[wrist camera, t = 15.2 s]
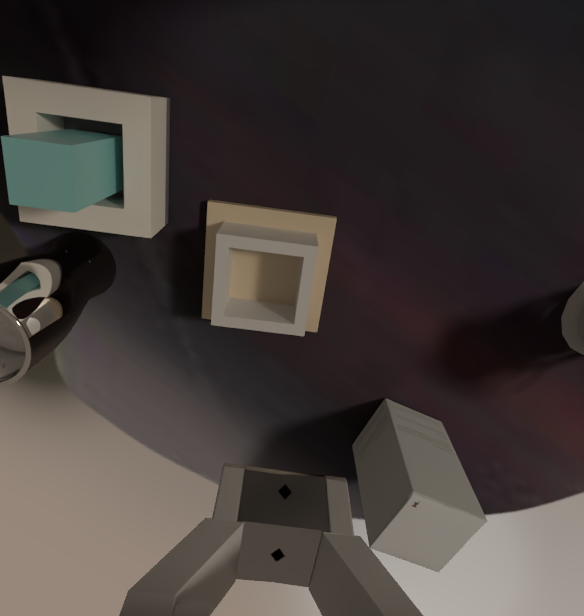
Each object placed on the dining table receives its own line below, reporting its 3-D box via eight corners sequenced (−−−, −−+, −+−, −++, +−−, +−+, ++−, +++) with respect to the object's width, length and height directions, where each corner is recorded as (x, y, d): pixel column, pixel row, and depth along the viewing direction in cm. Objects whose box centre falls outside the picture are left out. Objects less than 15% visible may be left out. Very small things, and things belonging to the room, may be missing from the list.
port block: (40, 79, 35) (2, 75, 30) (170, 98, 35) (151, 96, 31) (52, 207, 39) (19, 221, 34) (168, 222, 39) (151, 238, 35)
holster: (209, 199, 38) (198, 211, 34) (336, 216, 39) (340, 230, 35) (203, 314, 43) (192, 338, 39) (316, 328, 43) (318, 353, 39)
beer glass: (118, 306, 43) (34, 400, 29) (44, 290, 42) (-78, 379, 28) (124, 236, 40) (33, 305, 26) (44, 218, 39) (-91, 279, 26)
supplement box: (349, 445, 49) (365, 548, 38) (385, 395, 47) (413, 490, 35) (406, 468, 51) (438, 575, 39) (444, 421, 48) (490, 521, 36)
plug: (77, 128, 35) (0, 135, 26) (128, 135, 35) (70, 145, 26) (80, 179, 37) (9, 204, 28) (129, 186, 37) (74, 212, 28)
